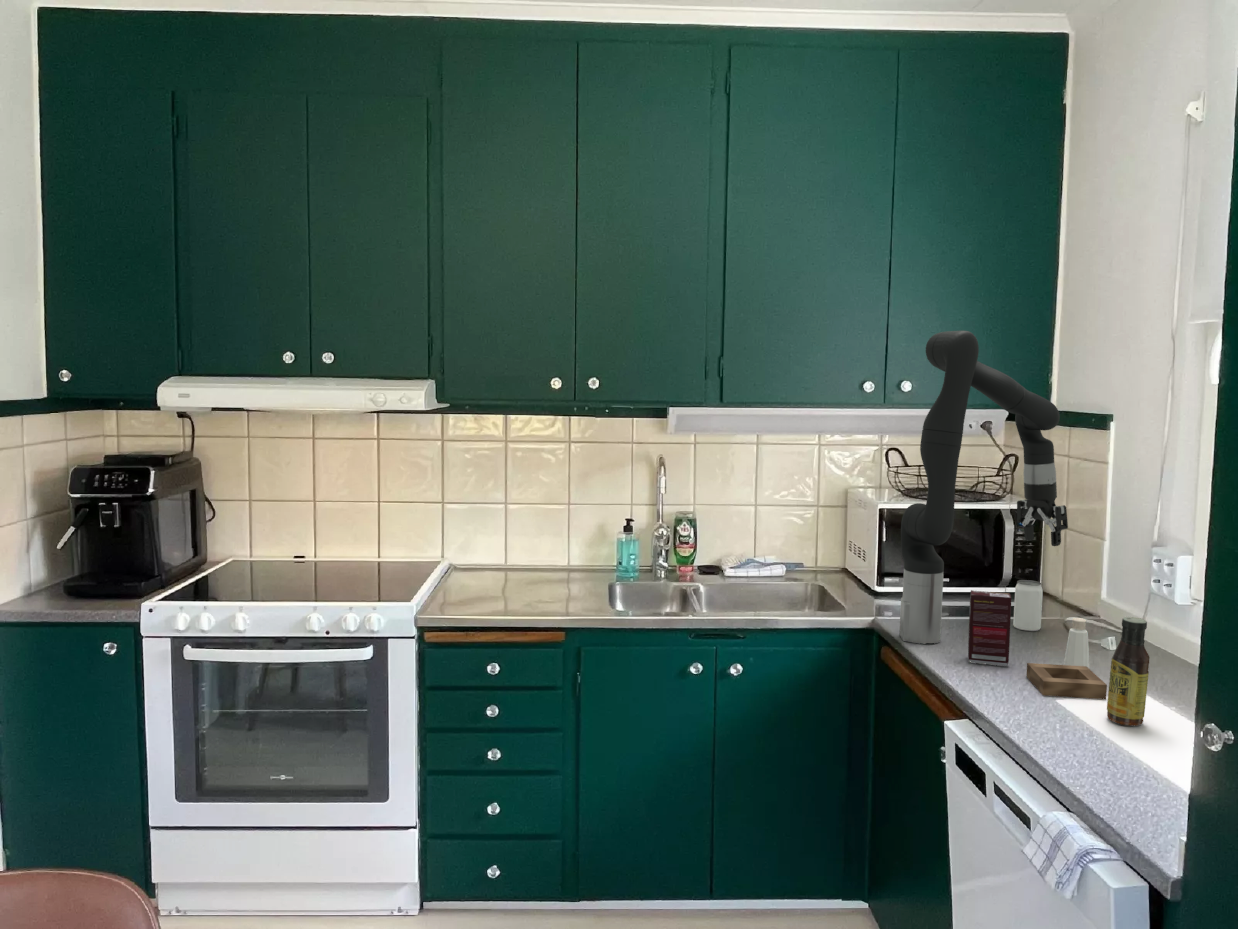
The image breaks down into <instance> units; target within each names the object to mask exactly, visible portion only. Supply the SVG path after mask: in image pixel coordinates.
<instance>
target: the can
mask: <svg viewBox="0 0 1238 929" xmlns="http://www.w3.org/2000/svg"><path fill="white" fill-rule="evenodd" d="M1043 591H1044V590H1043V587H1042V583H1041V582H1040V581H1036V580H1029V579H1028V580H1027V579H1021V580H1020V579H1019V580H1017V583H1016V585H1015V590H1014V602H1013V603H1014V605H1013V621H1012V622H1013V623H1012V624H1013V627H1014V628H1015V629H1016V630H1019V631H1025V632H1037V631H1040V629H1041V627H1042V612H1043V611H1042V610H1043Z"/></svg>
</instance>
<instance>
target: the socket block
mask: <svg viewBox="0 0 1238 929" xmlns="http://www.w3.org/2000/svg"><path fill="white" fill-rule="evenodd" d="M1025 677H1026V678H1027V679H1028V681H1030V682H1031V684H1032V685H1033V686H1034V687H1035V689H1036V690H1038V692H1039V693H1040V694H1041V695H1042V696H1044V697H1045V696H1047V697H1048V696H1049V697H1059V698H1060V697H1064V698H1079V699H1093V700H1096V699H1097V700H1107V691H1108V685H1107V683H1105V681H1103V680H1102V679H1101V678H1100V677H1099V676H1098V675H1097V674H1095V673H1094V671H1092V670H1091V669H1089V668H1088V667H1087V666H1071V665H1064V664H1052V663H1051V664H1049V663H1035V662H1033V663H1032V662H1031V663H1030V662H1026V675H1025Z"/></svg>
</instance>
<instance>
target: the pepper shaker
mask: <svg viewBox="0 0 1238 929" xmlns="http://www.w3.org/2000/svg"><path fill="white" fill-rule="evenodd" d="M1071 620H1072V628H1069V631H1068V635H1067V636H1068V637H1067V642H1066V647H1065V654H1064V660H1063V665H1071V666H1087V667H1088V668H1089V669H1090V651H1089V650H1090V649H1089V634H1088V631H1087V629H1086V626H1087V620H1086V619H1085V618H1082V617H1081V618H1080V617H1074V618H1072V619H1071ZM1090 670H1091V669H1090Z"/></svg>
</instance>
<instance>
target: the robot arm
mask: <svg viewBox="0 0 1238 929" xmlns="http://www.w3.org/2000/svg"><path fill="white" fill-rule="evenodd" d="M979 348H980V347H979V342H978V339H977V336H975V335H974V333H973V332H971V331H969V330H952V331H951V330H949V331H941V332H938V333H934V334H933V335H931V337H929V339H928V340H927V342H926V345H925V355H926V356H925V357H926V359H927V360H928V362H929V363H930V364H931V366H933V367H934V368H936V369H937V370H938V369H939V370H941V371H943V373H944V378H943V384H942V387H941V390H940V392H939V394H938V396H937V398H936V400H935V401H934V402H933V405H932V406H931V408H930V409H929V411H928V413H927V415H926V417H925V418H924V421H923V425H922V431H921V436H920V448H919V453H920V457H921V462H922V465H923V468H924V471H925V475H926V479H927V496H926V503H919V502H916V503H913V504H910V505H908V507H907V508H906V509H905V511H904V513H903V514H902V517H901V523H900V553H901V554H900V555H901V558H902V561H903V580H902V582H903V583H902V596H901V598H900V612H899V613H900V615H899V630H898V631H899V634H898V635H899V636H900V638H901V640H902V641H903V642H909V643H914V644H920V643H934V644H938V643H940V642H941V635H942V631H941V629H942V614H943V613H942V611H943V589H944V571H945V562H944V560H943V559H942V557H941V556H940V555H939V554H938V553H937V552H936V549H935V547H934V546H941V545H943V544H945V543H946V542H947V541H948V540H949V538H950V537H951V535H952V531H953V527H954V521H955V520H954V519H955V497H956V496H955V495H956V483H957V482H956V481H957V475H958V474H957V473H958V468H959V467H958V466H959V459H960V458H959V457H960V453H961V448H962V447H961V446H962V442H963V436H964V435H963V434H964V424H965V419H966V413H967V407H968V402H969V396H970V390H971V387H972V388H974V389H975V390H976V391H978V392H980V393H982V395H984V396H986V397H987V398H988V399H989V400H991V401H993V403H995V404H996V405H998V406H999V407H1000V408H1002V409H1003V410H1004V411H1006V412H1008V413H1010V414H1013V415H1014V416H1015V417H1014V418H1015V419H1014V422H1015V426H1016V427H1015V428H1016V430H1017V433H1018V436H1019V439H1020V442H1021V445H1022V448H1023V449H1022V450H1023V490H1024V491H1023V492H1024V499H1021V500H1017V501H1016V522H1017V523H1018V524H1021V525H1022V526H1023V532H1024V535H1023V536H1024V539H1025V541H1027V542H1029V541H1030V542H1031V541H1034V539H1035V532H1034V529H1035V528H1034V523H1035V521H1037V520H1039V521H1042V522H1044V523H1045V525H1047V526H1048V527H1049V528H1050V542H1051V543H1050V544H1051V546H1052V547H1059V546H1060V545H1061V544H1062V531H1063V530H1067V529H1068V528H1069V523H1068V514H1067V507H1066V505H1064V504H1063V505H1057V504H1056V499H1057V498H1058V492H1057V491H1058V489H1057V471H1056V464H1055V448H1054V447H1055V446H1054V442H1053V441H1052V440H1050V439H1048V438H1045V437H1044V436H1043V433H1042V431H1049V430H1053V429H1054V428H1055V427H1057V425H1058V424H1059V422H1060V418H1061V417H1060V416H1061V415H1060V412H1059V409H1058V408H1057V406H1056V405H1055V404H1054V403H1053V402H1051V401H1050V400H1048V399H1046V398H1045V397H1043V396H1041V395H1039V394H1036V393H1035V392H1032V391H1030V390H1028V389H1026V388H1025V387H1024V386H1023V385H1022V384H1020V383H1019V382H1018V381H1016V380H1015V379H1014V378H1012V377H1011V376H1009V375H1007V374H1006V373H1004V372H1002V371H1000V370H998V369H996V368H993V367H991V366H988V365H987V364H984V363H982V362H980V361H979V360H978V357H979V352H980V350H979Z"/></svg>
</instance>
